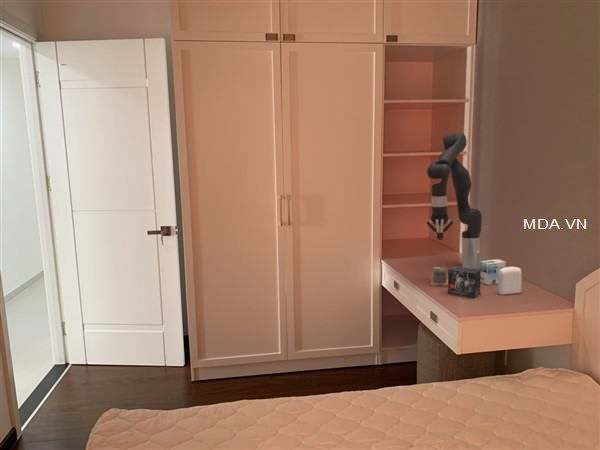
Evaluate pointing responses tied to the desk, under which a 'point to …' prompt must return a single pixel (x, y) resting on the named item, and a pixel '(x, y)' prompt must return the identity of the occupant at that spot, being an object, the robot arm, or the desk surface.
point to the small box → (464, 281)
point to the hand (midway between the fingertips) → (440, 239)
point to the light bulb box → (491, 270)
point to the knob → (439, 275)
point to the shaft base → (439, 283)
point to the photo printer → (509, 280)
